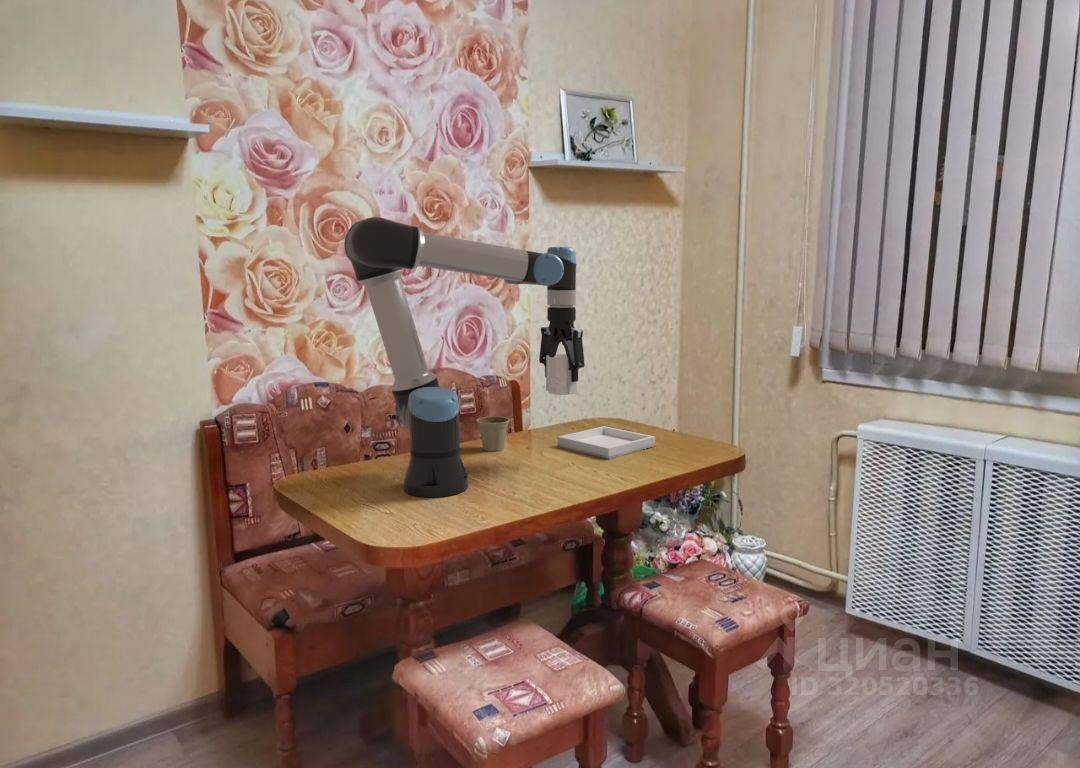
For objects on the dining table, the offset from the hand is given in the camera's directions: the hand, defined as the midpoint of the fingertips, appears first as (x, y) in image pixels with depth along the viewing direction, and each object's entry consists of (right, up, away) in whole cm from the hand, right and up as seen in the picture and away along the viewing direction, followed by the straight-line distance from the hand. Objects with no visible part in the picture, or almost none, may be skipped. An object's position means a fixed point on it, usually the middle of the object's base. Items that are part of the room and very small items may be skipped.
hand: (561, 391), depth 200 cm
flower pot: (-19, -17, +15) cm, 30 cm away
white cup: (0, -1, 0) cm, 1 cm away
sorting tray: (+13, -16, +16) cm, 27 cm away
